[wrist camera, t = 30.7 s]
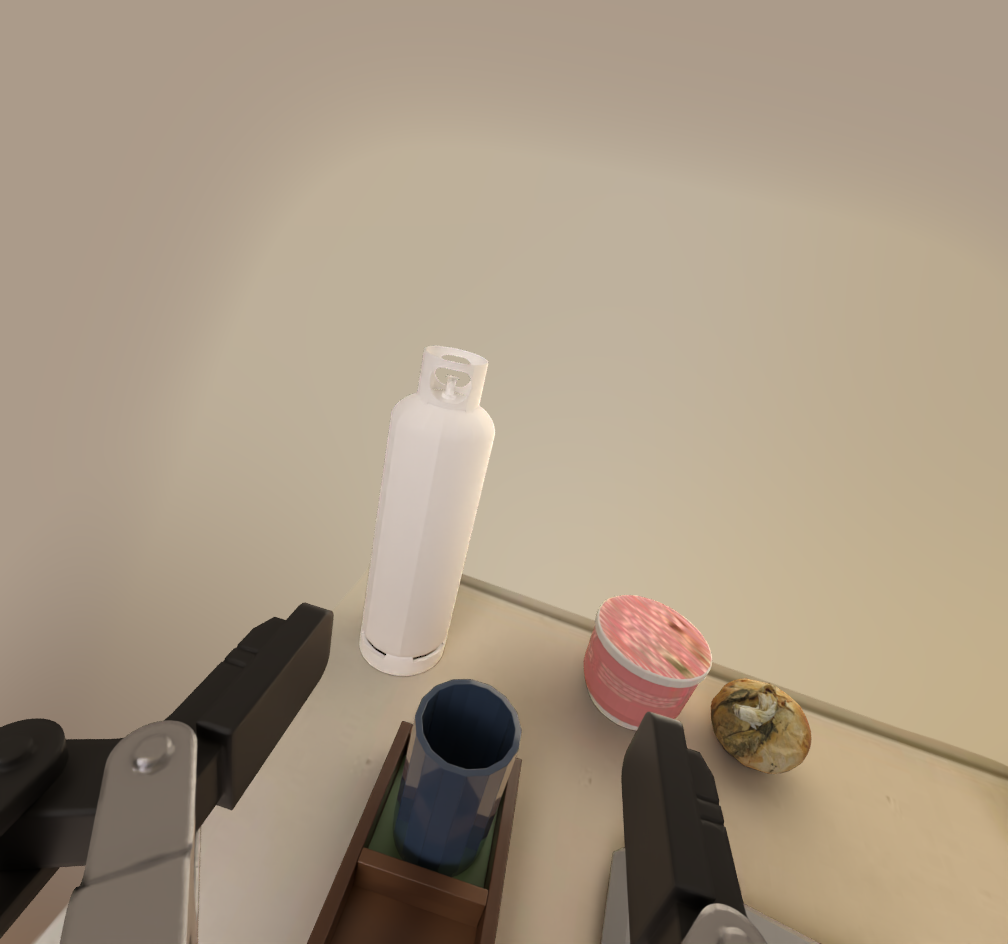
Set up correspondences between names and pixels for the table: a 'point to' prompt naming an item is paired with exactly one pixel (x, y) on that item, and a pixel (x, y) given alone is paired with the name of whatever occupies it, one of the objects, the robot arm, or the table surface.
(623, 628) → the container
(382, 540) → the bottle
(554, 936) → the table surface
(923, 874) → the table surface
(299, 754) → the table surface
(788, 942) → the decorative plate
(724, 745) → the onion
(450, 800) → the cup
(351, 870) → the holder
